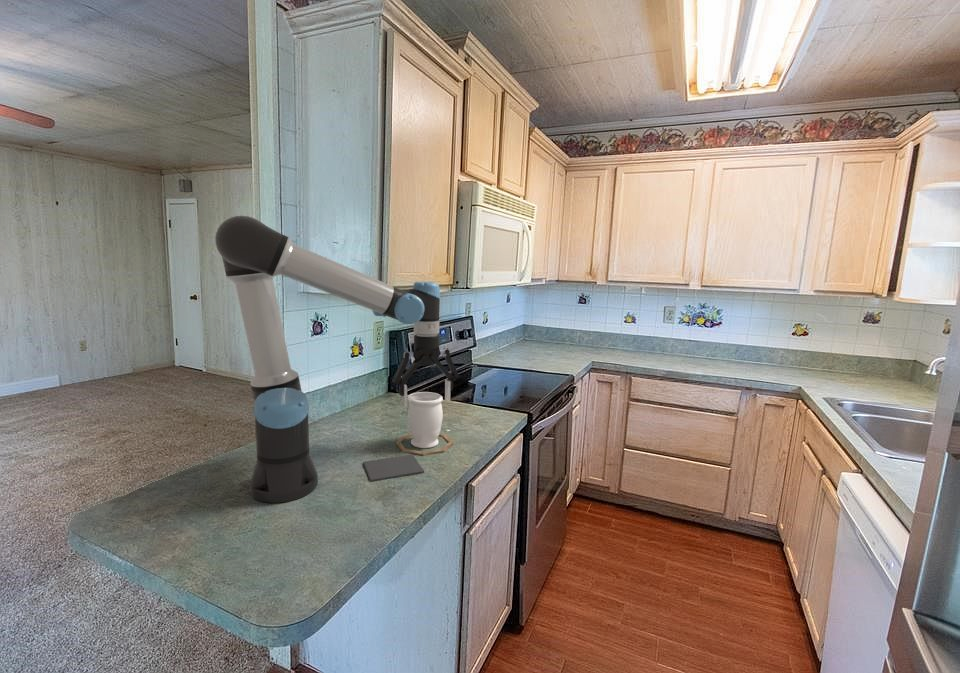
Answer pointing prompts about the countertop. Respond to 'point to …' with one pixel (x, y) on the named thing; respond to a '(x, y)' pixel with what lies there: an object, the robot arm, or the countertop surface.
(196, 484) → the countertop surface
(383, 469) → the mat
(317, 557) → the countertop surface
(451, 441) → the cork ring
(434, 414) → the jar
